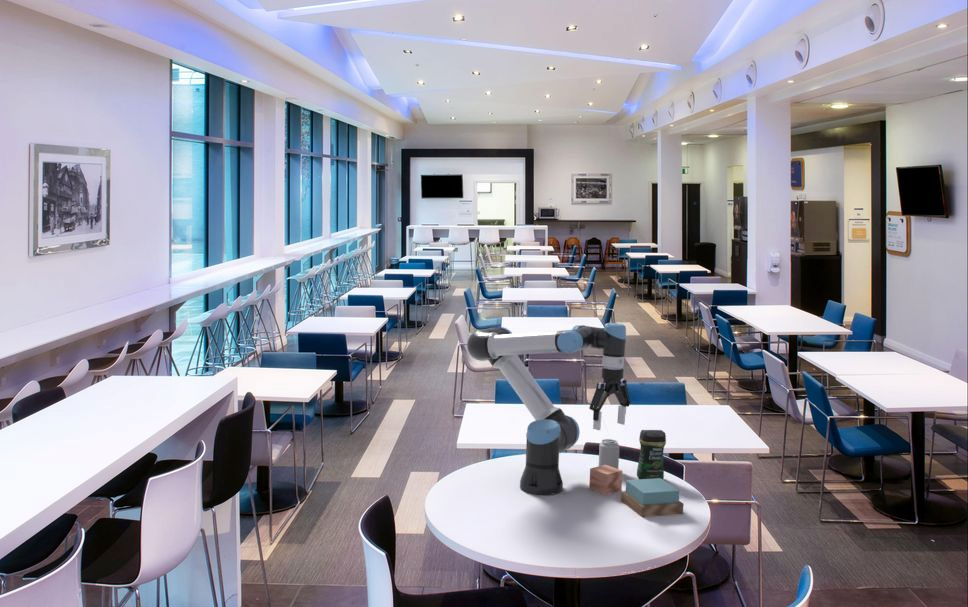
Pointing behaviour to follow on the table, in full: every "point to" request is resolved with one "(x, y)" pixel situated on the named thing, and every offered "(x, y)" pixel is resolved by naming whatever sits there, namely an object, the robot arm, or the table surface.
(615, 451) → the can
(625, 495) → the tower base
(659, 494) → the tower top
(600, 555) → the table surface
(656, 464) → the coffee jar
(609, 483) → the block
